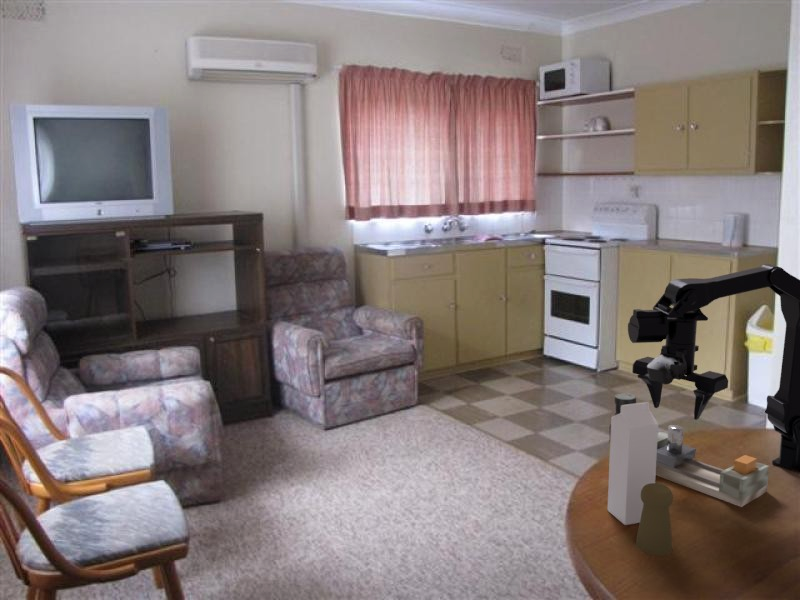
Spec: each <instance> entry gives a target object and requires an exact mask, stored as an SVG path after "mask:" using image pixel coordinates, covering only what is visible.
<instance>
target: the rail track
mask: <svg viewBox="0 0 800 600" xmlns="http://www.w3.org/2000/svg"><path fill="white" fill-rule="evenodd" d="M667 441H668V432H662V431H658V439H657V449H659V448H662V447H664V446H666V445H667ZM769 470H770V465H767V464H765V463H761V462H758V461H757V464H756V470H755V471H753V472H752V473H750V474H748V475H745V474H742V473H739V472H736V471H734V464H733V465H731V466H730V467H728V468H726V469H722V468H720V467H717V466H713V465H710V464H708V463H705V462H702V461H698V460H696V459H694V458H693V459H691V460H689V461H687V462H685V463H683V464H681V465H679V466H677V467H675V468H674V467H671V466H668V465H665V464H662V463H659V462H657V461H656V475H655V477H656V476H657V477H660V478H663V479H664V480H668V481H671V482H673V483H676V484H678V485H681V486H684V487H687V488H688V489H692V490H694V491H697V492H700V493H702V494H706V495H708V496H711V497H712V498H713V497H714V498H716V499H719V500H722V501H724V502H726V503H729V504H732V505H735V506H737V507H739V508H743V507H744V506H745V505H747V504H749V503H751V502H753V501H754V500H755V499H757V498H759V497H761V496H762V495H764V494H765V493H767V492H768V485H769V484H768V483H769V473H770V472H769Z"/></svg>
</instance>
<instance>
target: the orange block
mask: <svg viewBox="0 0 800 600" xmlns="http://www.w3.org/2000/svg"><path fill="white" fill-rule="evenodd" d="M757 462H758V458H755V457H753V456H749V455H747V454H744V455H742V456H739V457H738V458H736V459H734V463H733V465H734V471H736V472H739V473H742V474H745V475H748V474H750V473H752V472H753V471H755V470H756V464H757Z"/></svg>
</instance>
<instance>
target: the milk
mask: <svg viewBox="0 0 800 600" xmlns="http://www.w3.org/2000/svg"><path fill="white" fill-rule="evenodd" d="M610 425H611V438H610V437H609V439H610V463H609V462H608V488H607V489H608V493H607V511H608V512H609V513H610V514H611V515H612V516H613V517H615V518H616V519H617V520H618V521H619V522H621V523H622V524H623V525H624V526H628V525H629V526H630V525H634V524H635V525H636V524H638V523H639V524H640V519H641V514H642V509H643V504H644V503H643V502H642V500H641V490H642V488H643V487H644V486H645V485H647V484H650V483H656V457H657V439H658V432H659V422H658V421H657V419H656V417H654V415H653V413H652V411H651V410H650V402H649V401H646V402H645V401H644V402H636V404H628V405H622V406H621V412H620V414H617V415H615V414H614V415H613V416H611V418H610Z"/></svg>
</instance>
